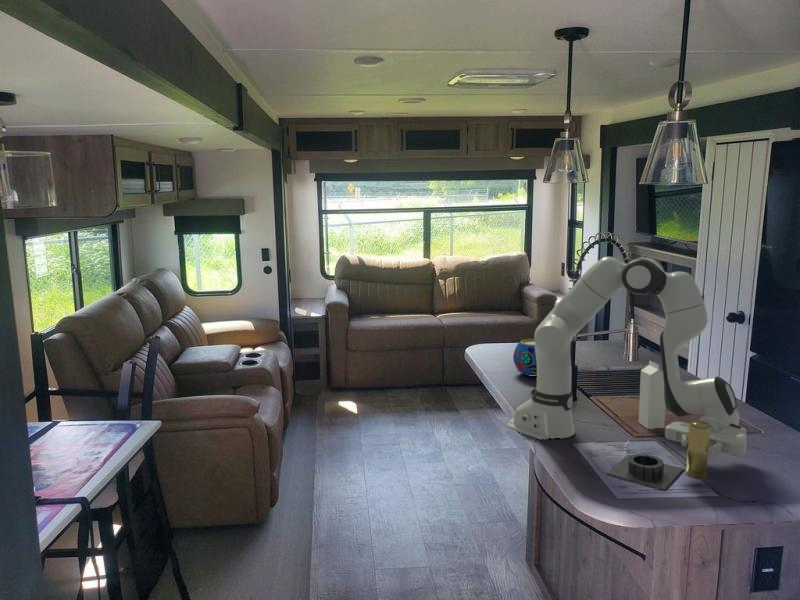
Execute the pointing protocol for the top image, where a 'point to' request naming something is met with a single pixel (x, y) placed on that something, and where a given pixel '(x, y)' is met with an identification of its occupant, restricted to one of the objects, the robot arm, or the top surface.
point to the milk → (652, 397)
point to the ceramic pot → (526, 357)
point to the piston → (697, 449)
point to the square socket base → (646, 471)
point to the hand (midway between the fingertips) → (697, 447)
